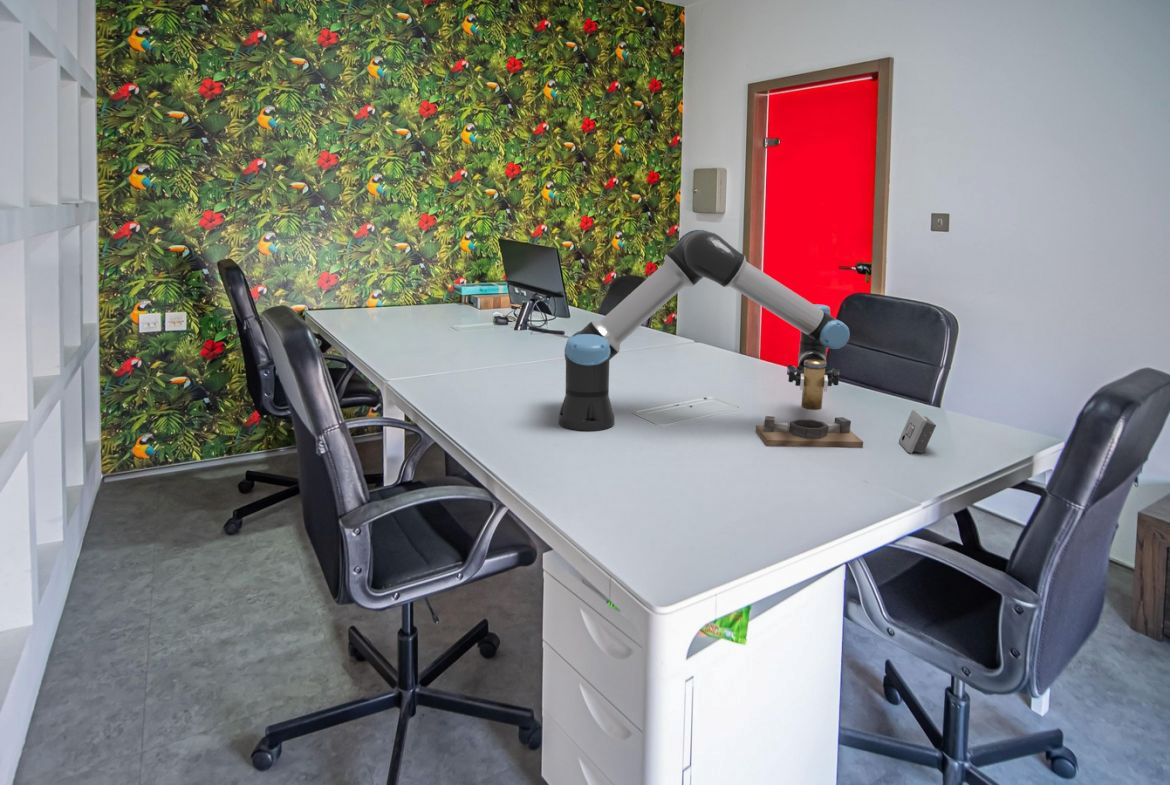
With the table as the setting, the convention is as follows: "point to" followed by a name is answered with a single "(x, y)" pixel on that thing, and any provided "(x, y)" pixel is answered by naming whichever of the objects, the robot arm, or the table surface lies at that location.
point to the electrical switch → (916, 433)
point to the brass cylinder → (813, 384)
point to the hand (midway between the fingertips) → (814, 385)
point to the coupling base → (808, 433)
